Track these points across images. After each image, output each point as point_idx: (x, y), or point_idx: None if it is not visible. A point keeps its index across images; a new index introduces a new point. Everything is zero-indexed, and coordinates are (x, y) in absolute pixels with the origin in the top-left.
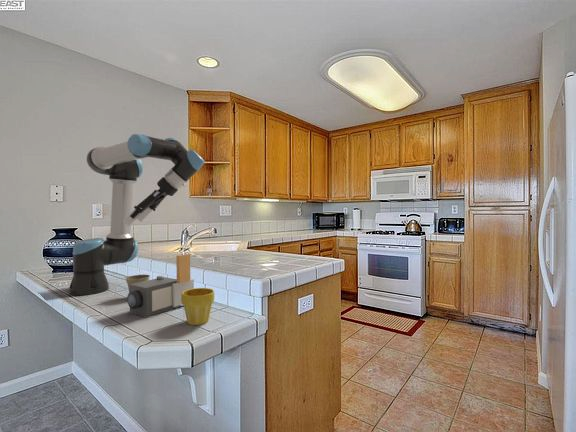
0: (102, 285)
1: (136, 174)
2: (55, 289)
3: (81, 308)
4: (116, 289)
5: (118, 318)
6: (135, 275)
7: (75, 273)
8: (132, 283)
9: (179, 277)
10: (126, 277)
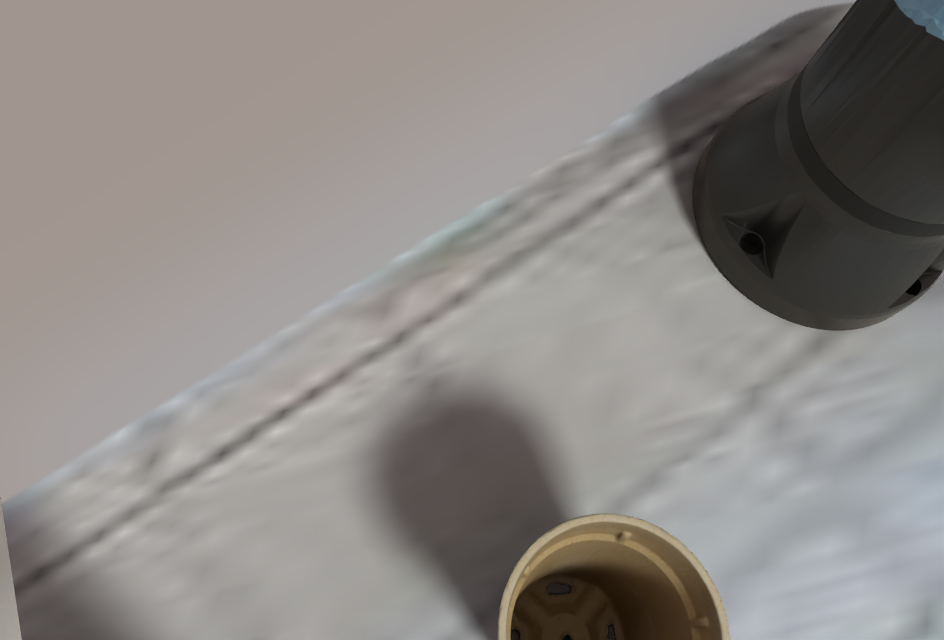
0: (796, 291)
1: None
2: None
3: (359, 304)
4: (838, 391)
5: None
6: (706, 585)
7: (805, 66)
8: (511, 606)
9: None
10: (612, 521)
